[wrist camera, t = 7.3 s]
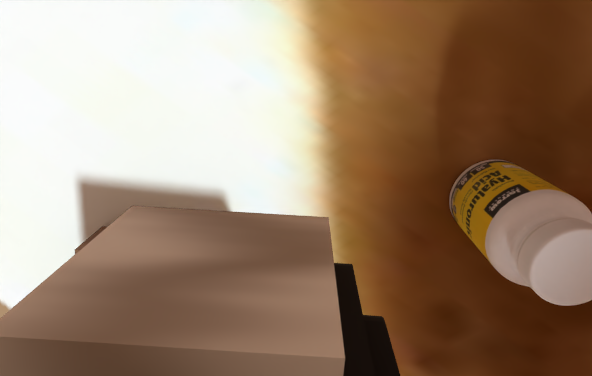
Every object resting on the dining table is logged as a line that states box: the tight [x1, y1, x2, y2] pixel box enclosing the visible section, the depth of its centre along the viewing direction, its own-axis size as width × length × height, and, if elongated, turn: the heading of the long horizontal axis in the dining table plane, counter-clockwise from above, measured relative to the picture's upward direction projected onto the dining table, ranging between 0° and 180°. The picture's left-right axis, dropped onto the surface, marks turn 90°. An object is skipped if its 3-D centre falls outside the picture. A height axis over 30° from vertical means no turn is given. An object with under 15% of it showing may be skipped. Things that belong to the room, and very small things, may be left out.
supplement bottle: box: [449, 160, 592, 306], centre depth 23 cm, size 5×5×10 cm
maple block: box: [0, 206, 345, 376], centre depth 9 cm, size 5×5×5 cm
